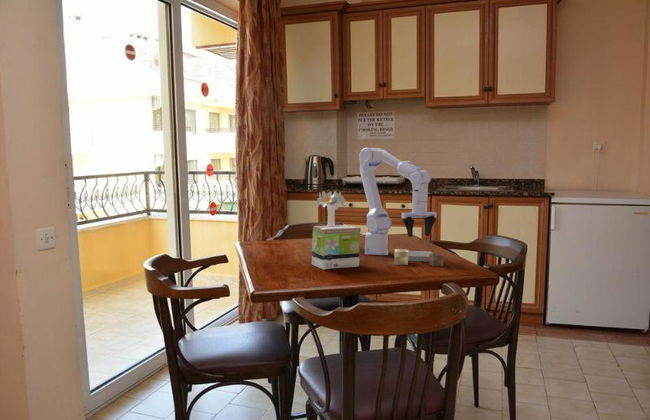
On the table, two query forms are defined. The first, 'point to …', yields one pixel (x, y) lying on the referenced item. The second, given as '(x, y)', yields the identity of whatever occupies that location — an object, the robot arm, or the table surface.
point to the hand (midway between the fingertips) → (418, 236)
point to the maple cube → (401, 257)
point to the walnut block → (436, 259)
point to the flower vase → (331, 204)
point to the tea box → (335, 246)
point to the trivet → (419, 256)
